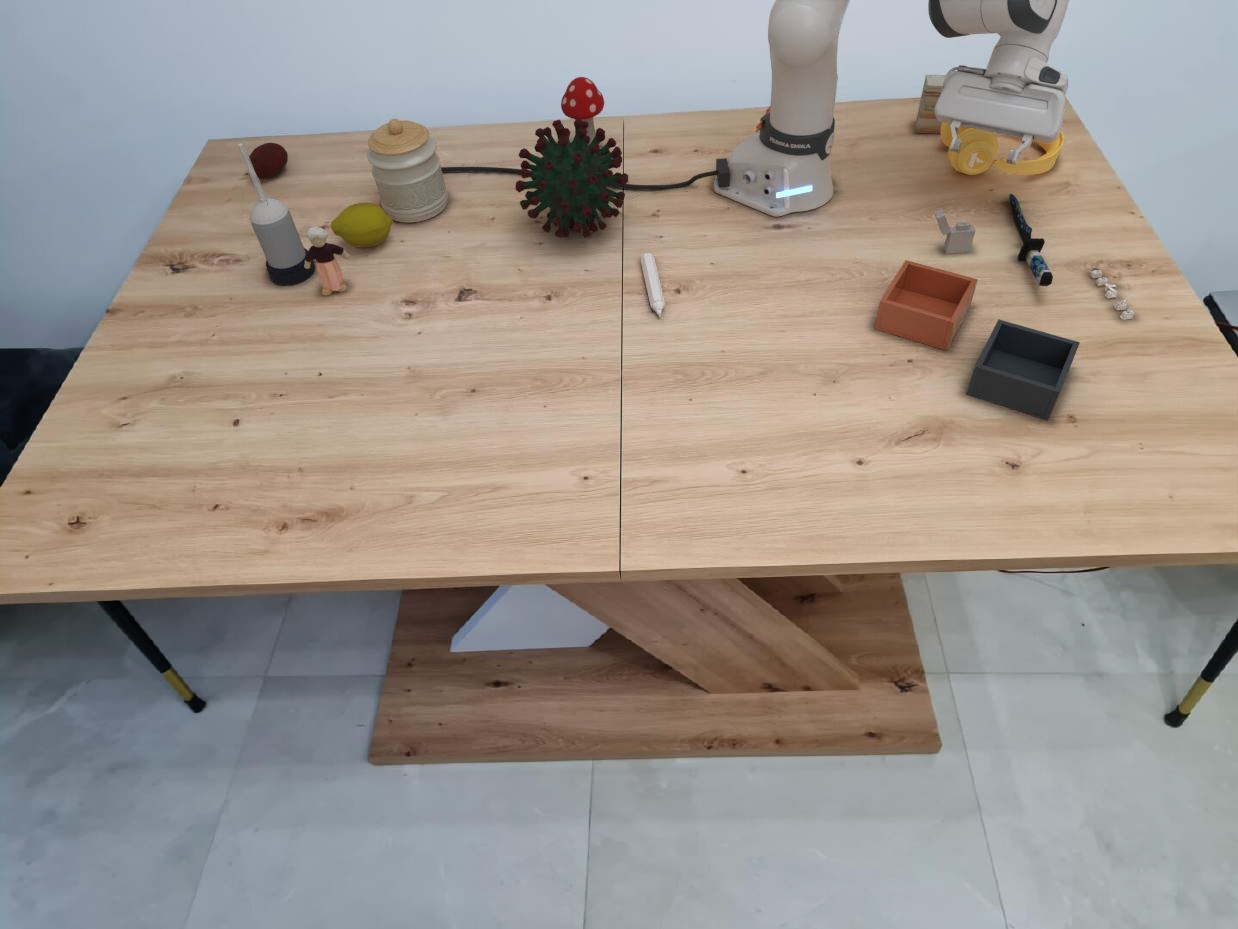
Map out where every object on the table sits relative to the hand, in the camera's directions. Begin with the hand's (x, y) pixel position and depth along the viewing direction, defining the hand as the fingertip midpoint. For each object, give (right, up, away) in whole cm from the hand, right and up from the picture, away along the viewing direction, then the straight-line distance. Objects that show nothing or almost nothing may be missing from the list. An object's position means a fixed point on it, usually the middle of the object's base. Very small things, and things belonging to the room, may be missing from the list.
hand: (982, 156), depth 151 cm
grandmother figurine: (-111, -20, +9) cm, 113 cm away
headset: (+11, +7, +22) cm, 26 cm away
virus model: (-69, -8, +16) cm, 71 cm away
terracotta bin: (-12, -28, -7) cm, 31 cm away
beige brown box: (+2, +16, +31) cm, 35 cm away
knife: (+8, -15, +3) cm, 17 cm away
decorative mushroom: (-67, +13, +34) cm, 77 cm away
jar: (-100, -1, +25) cm, 103 cm away
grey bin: (-2, -39, -18) cm, 43 cm away
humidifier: (-120, -17, +13) cm, 122 cm away
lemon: (-108, -10, +18) cm, 109 cm away
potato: (-133, +9, +37) cm, 138 cm away
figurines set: (+18, -25, -7) cm, 32 cm away
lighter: (-4, -15, +4) cm, 16 cm away
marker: (-55, -22, +2) cm, 59 cm away
